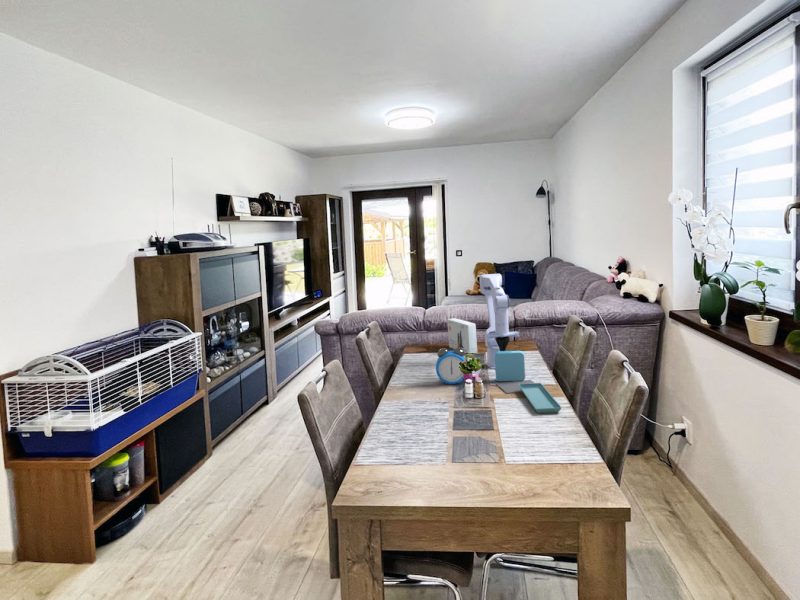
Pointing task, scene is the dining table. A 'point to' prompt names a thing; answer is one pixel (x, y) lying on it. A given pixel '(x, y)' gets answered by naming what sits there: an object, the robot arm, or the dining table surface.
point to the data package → (509, 366)
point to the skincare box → (462, 335)
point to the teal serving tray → (540, 398)
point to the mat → (512, 386)
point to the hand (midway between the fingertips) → (502, 353)
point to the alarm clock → (450, 365)
